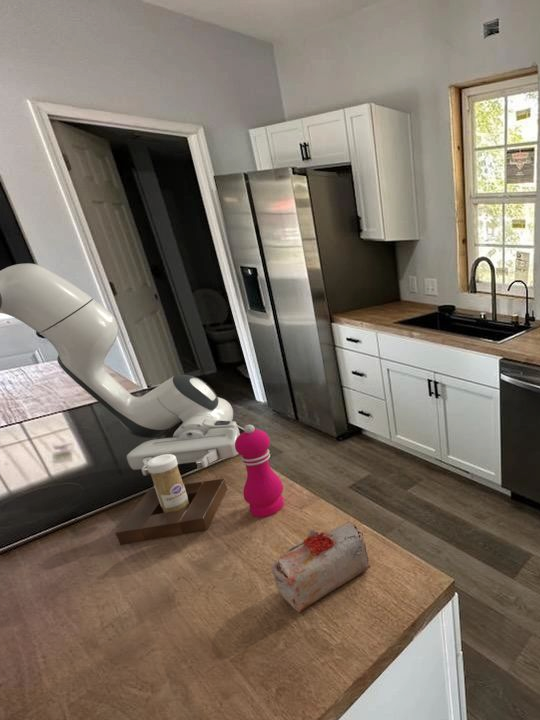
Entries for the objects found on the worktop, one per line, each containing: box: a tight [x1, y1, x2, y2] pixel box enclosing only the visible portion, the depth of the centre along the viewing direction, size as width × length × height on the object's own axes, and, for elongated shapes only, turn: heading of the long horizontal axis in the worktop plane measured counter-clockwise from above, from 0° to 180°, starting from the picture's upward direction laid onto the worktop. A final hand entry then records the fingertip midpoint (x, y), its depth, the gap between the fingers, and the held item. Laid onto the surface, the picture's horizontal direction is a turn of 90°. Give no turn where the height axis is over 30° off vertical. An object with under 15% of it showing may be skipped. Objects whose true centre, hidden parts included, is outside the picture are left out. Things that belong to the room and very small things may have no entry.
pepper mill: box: [235, 424, 285, 518], centre depth 85 cm, size 7×7×20 cm
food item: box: [270, 521, 371, 613], centre depth 69 cm, size 14×8×10 cm, turn 138°
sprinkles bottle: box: [146, 454, 190, 513], centre depth 83 cm, size 5×5×14 cm
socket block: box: [115, 478, 228, 546], centre depth 85 cm, size 14×14×3 cm
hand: (174, 468), depth 85 cm, fingers open, 8 cm apart
